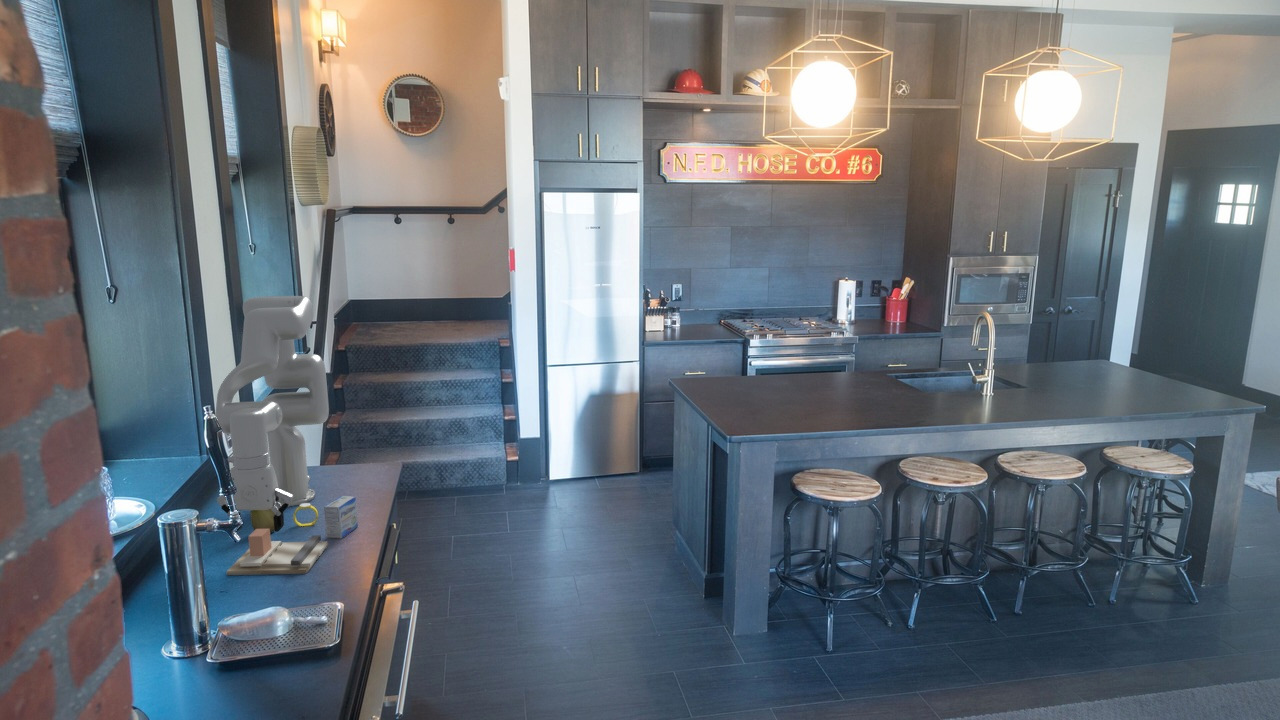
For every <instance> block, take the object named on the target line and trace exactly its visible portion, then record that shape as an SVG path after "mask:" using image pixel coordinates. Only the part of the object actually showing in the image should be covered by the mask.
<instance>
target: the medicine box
mask: <svg viewBox="0 0 1280 720" xmlns="http://www.w3.org/2000/svg"><path fill="white" fill-rule="evenodd" d="M323 513H324V521H325V522H324V523H325V533H326V538H329V539H338V538H342V539H344V538H345V537H346V536H348V535H349V534H350V533H352V532H353V531H354V530H355V529H357V528H358V526H359V524H358V514H357V513H358V512H357V501H356V497H355V496H350V495H349V496H348V495H341V496H339V497H338V498H335V500H333V501H331V502H329V503H328V504H326V505H325V506H324V507H323ZM347 534H348V535H347ZM344 536H345V537H344ZM343 537H344V538H343Z"/></svg>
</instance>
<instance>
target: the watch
mask: <svg viewBox="0 0 1280 720" xmlns="http://www.w3.org/2000/svg"><path fill="white" fill-rule="evenodd" d="M307 509H311V510H313V512H314V513H315V516H316V517H315V519H314V520H313V521H312V522H308V523H301V522H299V521H298V520H297V517H296V514H297V512H298V511H300V510H307ZM292 515H293V516H292V517H293V519H292V520H293V522H294V523H295V525H296V526H298V527H299V528H303V526H304V527H311V526H314V524H316V523H317V520H318V519H319V512H318V509H317V508H316V507H315V506H314V505H312V504H311V503H310V502H306V503H303V504H300V505H298V507H297V508H296V509H295V511H294V512H293V514H292ZM301 526H302V527H301Z"/></svg>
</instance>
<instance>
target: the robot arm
mask: <svg viewBox="0 0 1280 720" xmlns="http://www.w3.org/2000/svg"><path fill="white" fill-rule="evenodd" d="M242 312H243V316H244V319H243V331H242V344H241V353H240V354H241V355H240V362H239V363H238V365H236V367H234V368H233V369H232V370H231V371H230V372H229V373H228V374H227V376H225V378H224V379H223V381H222V383H221V384H220V385H219V388H218V392H217V396H216V405H215V414H214V415H215V416H216V417H217V419H218V422H219V424H220V426H221V427H222V429H223V434H226V435H230V438H231V450H232V456H228V457H227V462H228V461H229V462H228V463H231V464H232V466H233V467H231V468H230V471H229V474H230V473H231V477H232V480H233V482H234V484H235V486H236V487H237V492H236V493H235V495H234V500H235V504H236V508H237V511H238V513H239V515H240V517H241V518H242V516H241V511H251V510H268V509H271V510H272V511H273V512H274V513H275V516H274V517H273V519H274V529H275V531H274V532H276V533H277V532H279V531H280V530H281V529H282V528H283V527H284V525H285V519H284V512H285V511H286V510H287V509H288V508H289V507H294V506H299V505H300V504H303V503H310V502H311V501H312V500H314V498H315V497H316V491H315V490H314V489H313V488H310V485H309V484H310V483H309V482H310V480H311V477H310V475H309V473H308V463H307V451H306V440H305V437H304V435H303V434H302V432H301V431H300V430H299V429H298V428H297V426H311V425H321V424H324V423H326V421H327V420H328V418H329V414H330V413H329V412H330V408H329V407H330V405H329V396H328V383H327V373H326V366H325V362H324V360H323V358H322V357H321V356H320V355H319V354H316V353H301V354H300V353H299V354H298V353H296V347H295V340H301V339H303V338H304V337H305V336H306V335H307V333H308V330H309V328H310V327H311V325H312V322H313V319H314V306H313V303H312V301H311V300H310V298H309V297H307V296H303V295H283V296H279V295H278V296H277V295H276V296H275V295H274V296H256V297H251V298H247V299H246V300H245V301H244V302H243V303H242ZM260 378H264V382H265V384H266V386H267V387H269V388H271V389H274V390H276V389H277V390H278V389H279V390H282V389H283V390H286V389H307V390H308V391H290V392H279V393H278V392H277V393H272V394H268V395H267V396H266V397H265V398H263V400H262V401H261V400H260V401H259V400H258V401H238V402H233V399H234V398H235V397H234V396H235V395H236V394H237V393H238V392H239V390H241V389H242V388H243V387H245V386H246V385H248V384H251V383H252V382H254V381H257V380H259V379H260ZM215 416H214V417H215ZM216 417H215V418H216ZM216 501H217V503H218V504H219V506H220V508H221V510H222V511H224V512H225V514H227V515H226V516H228V517H229V518H230V509H229V506H228V503H229V502H228V500H227V499H226V497H225V496H224V495H223V494H222V495H220V496H218V497H217V498H216ZM242 528H243V525H241V526H240V527H239V528H238V529H237V531H236V533H237V532H239V531H240V530H241V529H242Z"/></svg>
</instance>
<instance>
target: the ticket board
mask: <svg viewBox="0 0 1280 720" xmlns="http://www.w3.org/2000/svg"><path fill="white" fill-rule="evenodd" d="M321 540H322V538H321V535H311V537H309V539H308V540H307V541H288V542H287V541H285V542H284V541H283V542H282V541H281V545H280V546H279V547H278V548H277V549H276V550H275V551H274V552H273V553H272V554H271V555H270V556H269V558H268V559H267V560H266V561H265V562H264V563H263V564H262V566H244V567H240V563H241V562H242V561H243V560H244V559H245V558H246V557H247V556H248V555H249V554H250V548H248V549H247V550H246V551H245V552H244V553H243V554H242V555H241V556H240V558H238V559H237V560H236V562H234V563H233V564H232V566H230V567H229V568H228V569H227V570H226V575H227V576H249V575H250V576H252V575H254V576H255V575H259V576H260V575H292V574H293V575H297V574H298V575H299V574H300V575H301V574H304V575H305V574H308V573H309V571H310V570H311V569H312V567H313V566H314V564H315V563H316V562H317V561H318V559H319V558H320V557H321V555H322V554H323V553H324V552H325V550H326V549H327V548H328V547H329V542H328V541H321ZM323 551H324V552H323ZM319 556H320V557H319ZM316 560H317V561H316Z"/></svg>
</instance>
